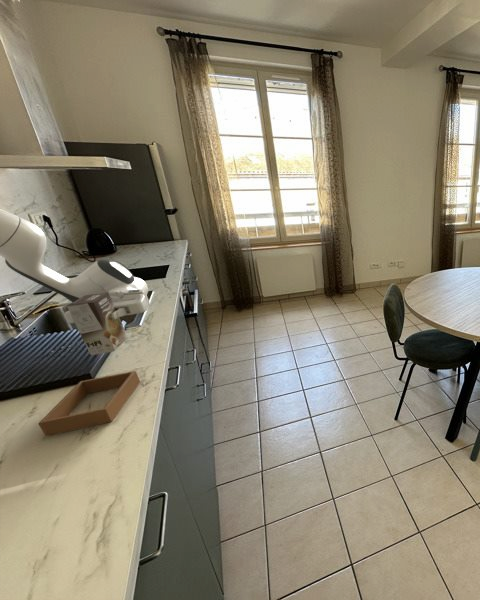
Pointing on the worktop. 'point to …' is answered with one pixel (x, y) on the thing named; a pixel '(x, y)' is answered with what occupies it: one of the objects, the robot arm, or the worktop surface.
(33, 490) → the worktop surface
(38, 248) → the robot arm
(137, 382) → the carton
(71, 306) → the coffee box
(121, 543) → the worktop surface
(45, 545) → the worktop surface
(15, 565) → the worktop surface
